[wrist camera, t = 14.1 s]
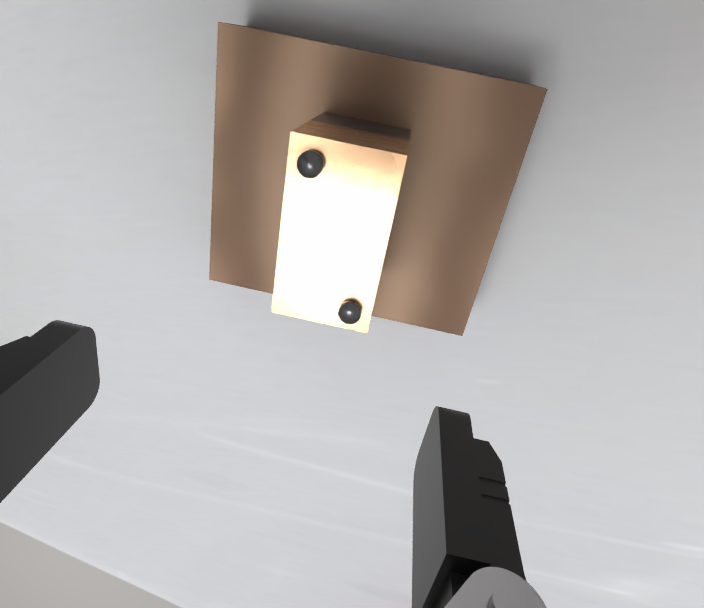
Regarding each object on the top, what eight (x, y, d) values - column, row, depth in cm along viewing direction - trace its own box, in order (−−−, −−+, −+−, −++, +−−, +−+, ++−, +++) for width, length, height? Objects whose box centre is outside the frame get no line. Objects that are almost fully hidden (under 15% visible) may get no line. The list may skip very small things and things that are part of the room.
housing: (324, 111, 24) (287, 132, 18) (411, 129, 24) (407, 157, 17) (304, 255, 28) (268, 316, 21) (379, 271, 28) (366, 337, 21)
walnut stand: (232, 255, 33) (209, 279, 30) (245, 26, 26) (218, 21, 23) (457, 305, 32) (462, 335, 29) (530, 84, 26) (547, 89, 22)
